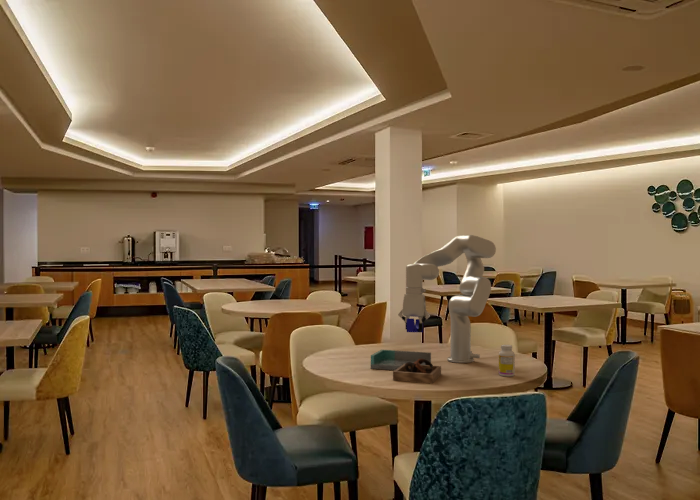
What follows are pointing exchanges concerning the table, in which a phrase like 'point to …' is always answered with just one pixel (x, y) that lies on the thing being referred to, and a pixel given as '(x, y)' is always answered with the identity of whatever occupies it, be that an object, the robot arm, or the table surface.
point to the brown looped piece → (419, 366)
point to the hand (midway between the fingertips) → (414, 331)
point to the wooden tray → (417, 374)
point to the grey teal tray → (396, 358)
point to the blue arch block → (412, 325)
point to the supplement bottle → (506, 361)
